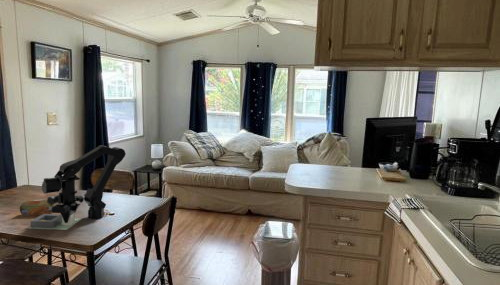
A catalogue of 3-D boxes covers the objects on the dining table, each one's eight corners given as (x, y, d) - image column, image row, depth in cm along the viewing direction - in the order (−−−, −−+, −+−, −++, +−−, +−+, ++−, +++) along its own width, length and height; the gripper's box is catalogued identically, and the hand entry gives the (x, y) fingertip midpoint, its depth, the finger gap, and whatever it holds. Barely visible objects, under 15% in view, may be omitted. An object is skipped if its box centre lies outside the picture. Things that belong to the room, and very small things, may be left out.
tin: (19, 217, 159) (19, 201, 158) (22, 215, 162) (21, 199, 161) (53, 216, 163) (53, 200, 162) (55, 214, 166) (55, 198, 165)
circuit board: (81, 220, 160) (81, 218, 160) (67, 231, 146) (67, 229, 146) (45, 218, 159) (45, 217, 159) (27, 229, 145) (27, 228, 145)
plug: (74, 222, 155) (74, 210, 154) (70, 225, 151) (70, 212, 150) (66, 222, 155) (66, 209, 154) (62, 225, 151) (61, 212, 150)
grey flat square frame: (64, 220, 157) (64, 214, 156) (53, 228, 147) (52, 221, 146) (43, 219, 156) (43, 213, 156) (30, 227, 146) (30, 220, 146)
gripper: (61, 184, 160) (61, 213, 162) (38, 194, 141) (39, 228, 143) (84, 185, 160) (84, 214, 162) (64, 195, 142) (64, 228, 144)
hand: (68, 221), depth 153 cm, fingers closed on plug, 4 cm apart
